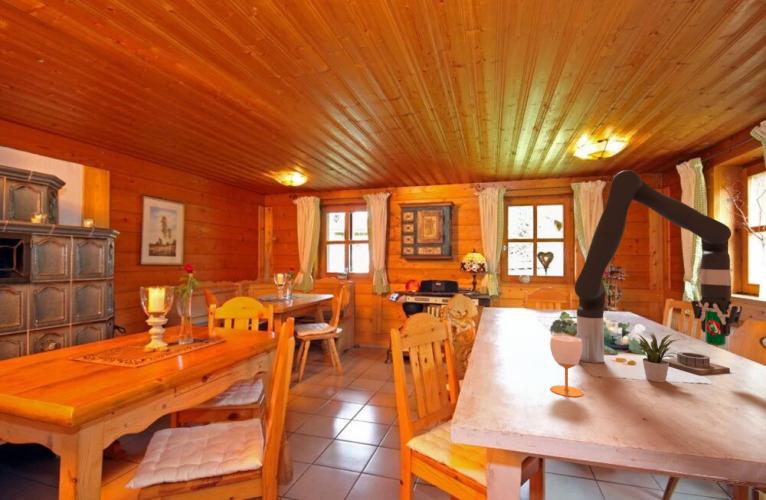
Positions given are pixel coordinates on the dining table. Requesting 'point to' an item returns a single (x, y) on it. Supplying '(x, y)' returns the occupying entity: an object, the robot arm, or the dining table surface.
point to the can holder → (695, 363)
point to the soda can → (713, 328)
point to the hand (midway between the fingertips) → (715, 333)
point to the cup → (566, 361)
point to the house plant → (656, 358)
